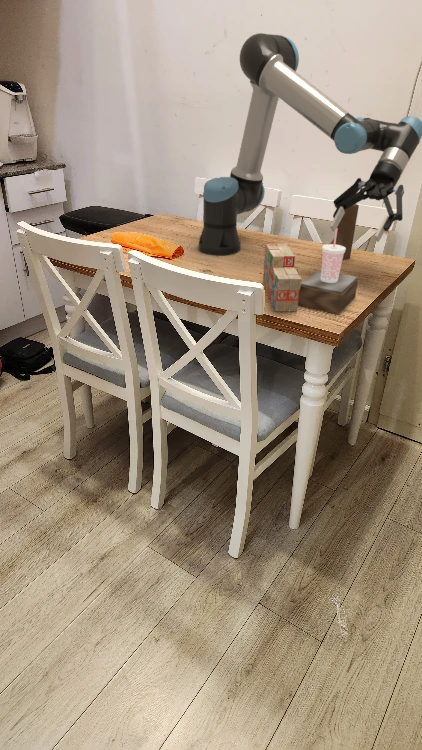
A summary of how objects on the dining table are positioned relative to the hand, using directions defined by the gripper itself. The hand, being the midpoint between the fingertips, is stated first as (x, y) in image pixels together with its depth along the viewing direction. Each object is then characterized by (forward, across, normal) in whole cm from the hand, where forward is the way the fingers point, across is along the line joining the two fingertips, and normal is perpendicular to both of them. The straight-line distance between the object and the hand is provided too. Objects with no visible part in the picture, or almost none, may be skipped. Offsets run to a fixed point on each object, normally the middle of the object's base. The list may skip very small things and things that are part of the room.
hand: (353, 233), depth 134 cm
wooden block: (-5, +16, -28) cm, 33 cm away
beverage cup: (+15, -1, +1) cm, 15 cm away
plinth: (+20, -1, -3) cm, 20 cm away
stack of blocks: (+24, +11, +1) cm, 27 cm away
